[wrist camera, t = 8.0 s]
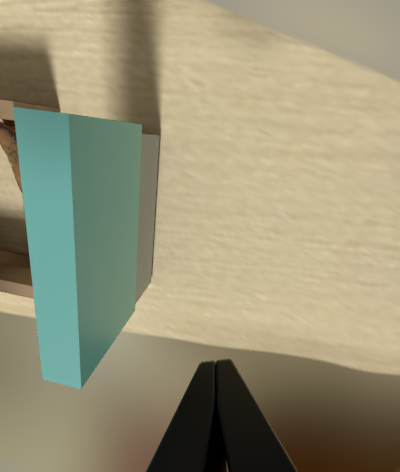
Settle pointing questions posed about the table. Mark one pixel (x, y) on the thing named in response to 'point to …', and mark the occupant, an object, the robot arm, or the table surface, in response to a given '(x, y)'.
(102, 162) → the block
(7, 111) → the box
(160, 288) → the table surface
